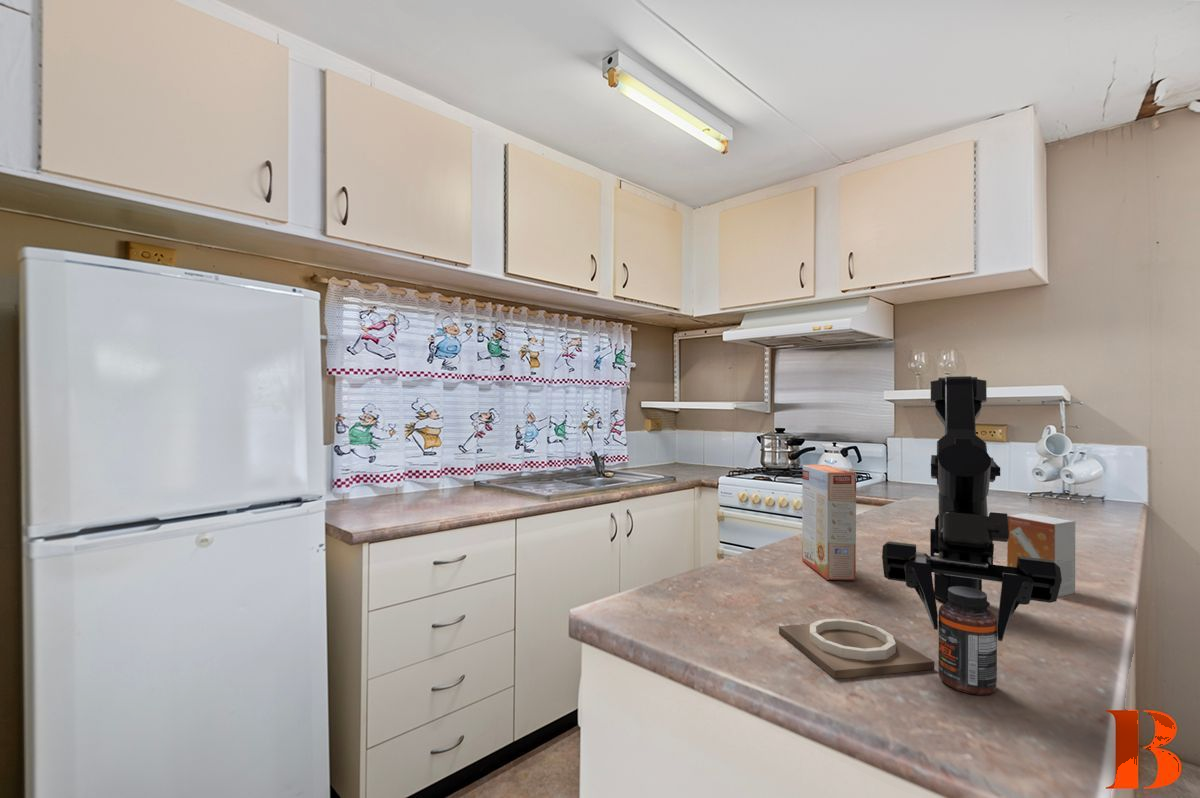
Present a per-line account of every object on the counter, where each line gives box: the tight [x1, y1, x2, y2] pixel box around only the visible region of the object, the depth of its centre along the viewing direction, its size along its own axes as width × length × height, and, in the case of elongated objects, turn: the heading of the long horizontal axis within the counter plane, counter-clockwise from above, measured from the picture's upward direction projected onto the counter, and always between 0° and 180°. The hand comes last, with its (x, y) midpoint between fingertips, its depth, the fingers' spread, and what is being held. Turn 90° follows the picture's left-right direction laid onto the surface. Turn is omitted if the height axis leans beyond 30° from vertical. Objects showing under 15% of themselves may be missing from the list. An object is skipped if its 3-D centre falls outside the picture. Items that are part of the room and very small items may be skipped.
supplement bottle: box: [937, 586, 998, 696], centre depth 68 cm, size 6×6×11 cm
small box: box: [1006, 512, 1076, 598], centre depth 103 cm, size 8×6×13 cm
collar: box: [809, 618, 896, 661], centre depth 77 cm, size 11×11×1 cm
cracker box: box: [801, 464, 857, 581], centre depth 114 cm, size 14×6×21 cm, turn 179°
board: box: [778, 619, 935, 680], centre depth 77 cm, size 14×14×1 cm
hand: (967, 633), depth 67 cm, fingers open, 6 cm apart
